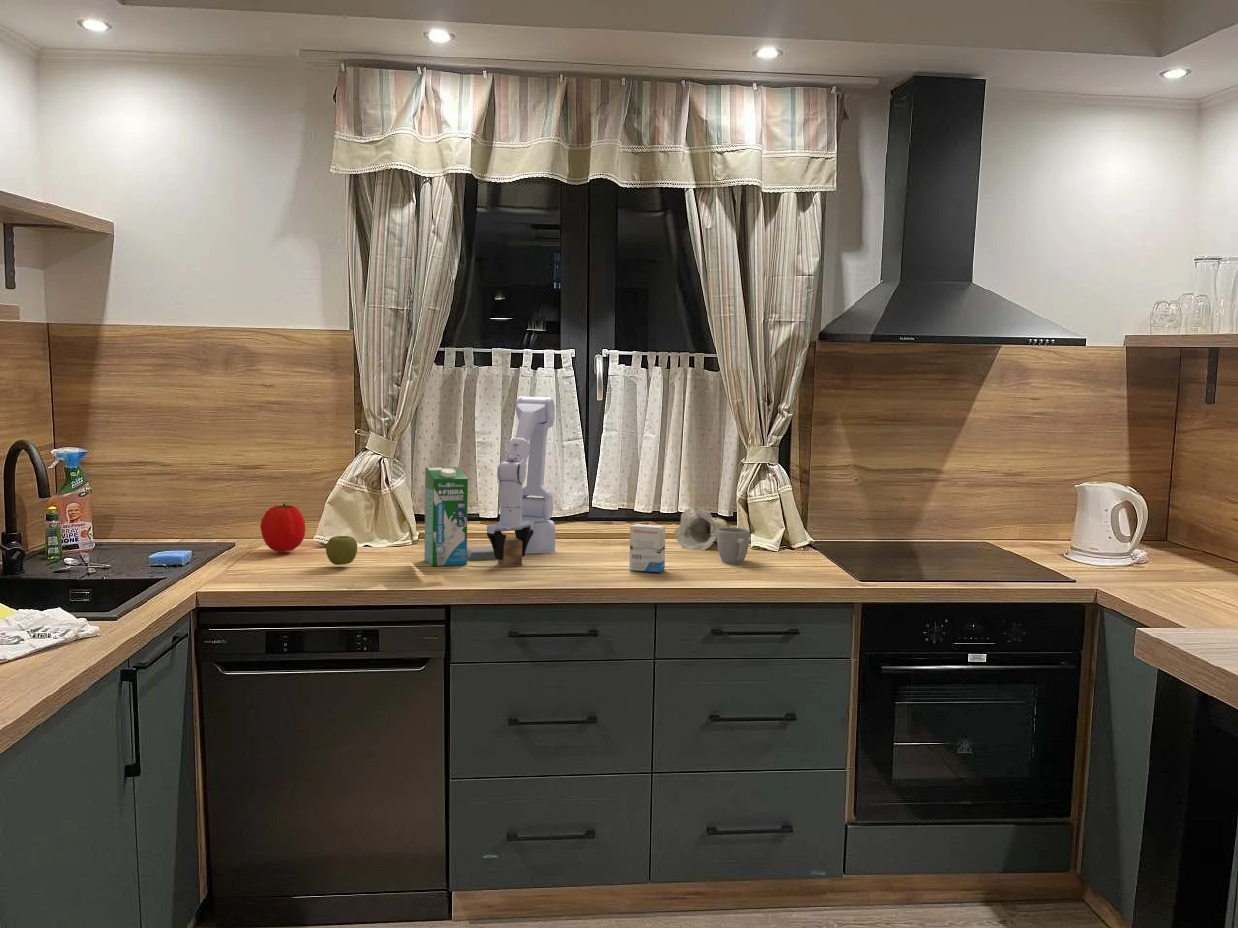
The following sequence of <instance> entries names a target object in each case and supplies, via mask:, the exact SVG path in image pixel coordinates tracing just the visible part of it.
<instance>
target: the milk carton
mask: <svg viewBox="0 0 1238 928" xmlns="http://www.w3.org/2000/svg"><path fill="white" fill-rule="evenodd" d="M424 469H425V471H424V473H425V475H424V483H425V484H424V559H423V560H424V561H425V562H426V563H428V564H429V565H430V566H432V567H443V566H445V567H446V566H461V565H462V566H463V565H467V564H468V561H467V559H468V558H467V547H468V499H469V498H468V493H469V492H468V491H469V490H468V484H469V483H468V481H469V479H468V477H467V476H466V474H464V472H463V471H462V469H460V467H458V466H450V467H449V466H447V467H446V466H443V467H441V466H440V467H439V466H437V467H436V466H434V467H433V466H431V467H425V468H424Z"/></svg>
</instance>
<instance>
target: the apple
mask: <svg viewBox="0 0 1238 928" xmlns="http://www.w3.org/2000/svg"><path fill="white" fill-rule="evenodd" d="M357 553H358V543H357V540H356V539H355V538H354V537H352V536H350V535H336V536H332V537H331V538H329V539H328V541H327V543H326V547H325V554H326V556H327V558H328V560H329V561H330V563H331V564H333V565H335V566H337V565H338V566H340V565H348V564H351V563H352V562H353V561H354V560H355V558H356V556H357Z"/></svg>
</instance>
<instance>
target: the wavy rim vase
mask: <svg viewBox="0 0 1238 928" xmlns="http://www.w3.org/2000/svg"><path fill="white" fill-rule="evenodd" d="M724 527H731V526H730V524H729V523H728V522H727V521H726V520H725V519H723V518H721V517H712V514H711V513H710V512H709V511H706V510H705V509H704V508H700V507H699V509H697V510H695V508H694V507H691V508H687V509H685V510H684V511H683V512H682V513H681V516H680V524H679V526H678V528H676V529H675V530H674V531H673V533H674V535H675V538H676V541H677V543H678V544H679V546H680V547H681V548H684V549H691V550H701V551H705V550H707V549H708V548H710V547H711V546H712V545H713V542H717V530H718V528H724Z"/></svg>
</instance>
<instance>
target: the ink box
mask: <svg viewBox="0 0 1238 928" xmlns="http://www.w3.org/2000/svg"><path fill="white" fill-rule="evenodd" d="M665 558H666V526H665V525H651V524H643V523H641V524H639V523H635V524H632V525H630V527H629V570H630V571H637V572H648V573H649V572H651V573H662V572H663V571H665V567H666V566H665V563H666V561H665Z"/></svg>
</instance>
